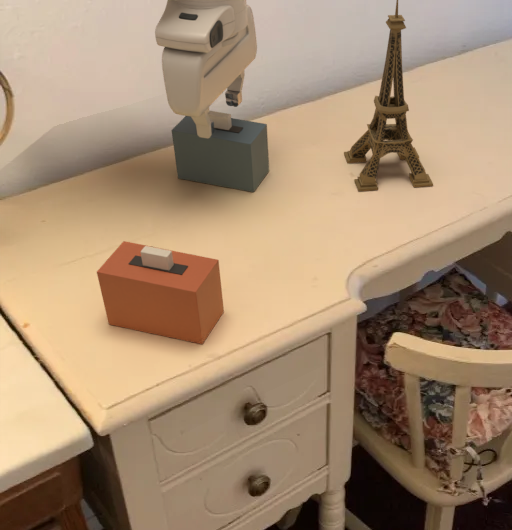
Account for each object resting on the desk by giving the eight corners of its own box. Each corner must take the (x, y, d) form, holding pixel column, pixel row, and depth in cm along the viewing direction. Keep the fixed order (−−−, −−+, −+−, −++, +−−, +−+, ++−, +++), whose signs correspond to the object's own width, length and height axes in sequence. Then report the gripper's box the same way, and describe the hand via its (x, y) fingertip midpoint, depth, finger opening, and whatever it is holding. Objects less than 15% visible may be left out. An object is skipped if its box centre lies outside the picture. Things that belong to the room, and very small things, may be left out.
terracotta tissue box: (108, 324, 91) (92, 257, 85) (133, 292, 95) (120, 226, 89) (202, 344, 89) (193, 277, 83) (224, 311, 93) (217, 245, 87)
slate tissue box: (177, 178, 114) (169, 117, 107) (195, 158, 118) (188, 98, 112) (253, 192, 112) (249, 131, 106) (269, 171, 116) (266, 111, 110)
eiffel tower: (414, 149, 123) (429, -33, 105) (433, 186, 115) (452, -4, 98) (343, 153, 121) (347, -32, 103) (358, 191, 113) (364, -2, 96)
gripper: (219, -21, 107) (228, 84, 117) (147, 36, 93) (164, 150, 103) (265, -15, 106) (271, 90, 116) (200, 44, 92) (212, 158, 102)
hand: (220, 119), depth 109 cm, fingers open, 8 cm apart
